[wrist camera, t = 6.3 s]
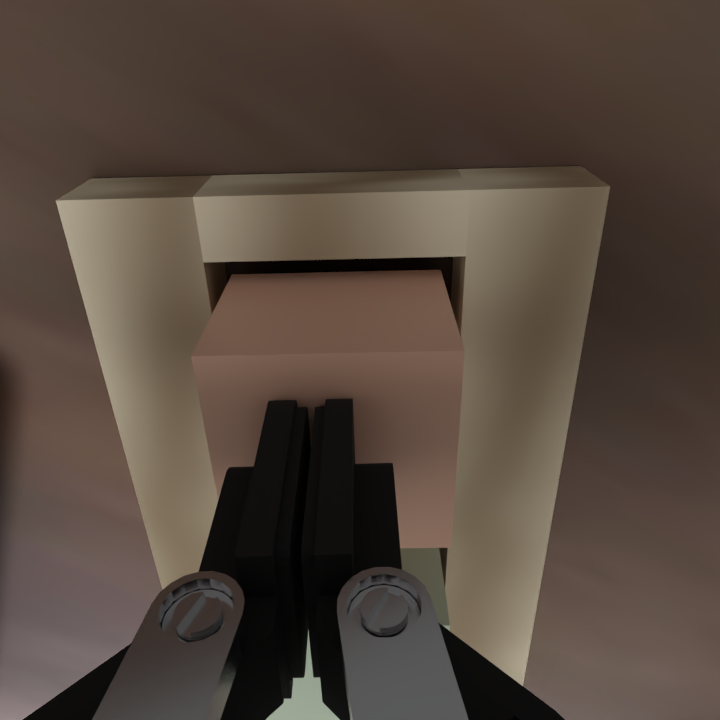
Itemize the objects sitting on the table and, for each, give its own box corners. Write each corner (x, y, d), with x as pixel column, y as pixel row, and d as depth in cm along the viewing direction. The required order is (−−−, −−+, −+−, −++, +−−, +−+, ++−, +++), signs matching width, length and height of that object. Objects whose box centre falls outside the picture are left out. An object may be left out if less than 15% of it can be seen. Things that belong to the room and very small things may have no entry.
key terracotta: (440, 269, 15) (464, 351, 11) (433, 438, 17) (451, 547, 14) (231, 274, 15) (190, 356, 11) (255, 441, 17) (227, 551, 14)
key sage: (433, 504, 18) (450, 625, 14) (428, 618, 20) (441, 745, 17) (260, 507, 18) (235, 628, 14) (276, 620, 20) (258, 746, 17)
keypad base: (581, 165, 15) (615, 189, 13) (499, 715, 26) (510, 773, 24) (91, 178, 15) (49, 204, 13) (221, 717, 26) (209, 775, 24)
